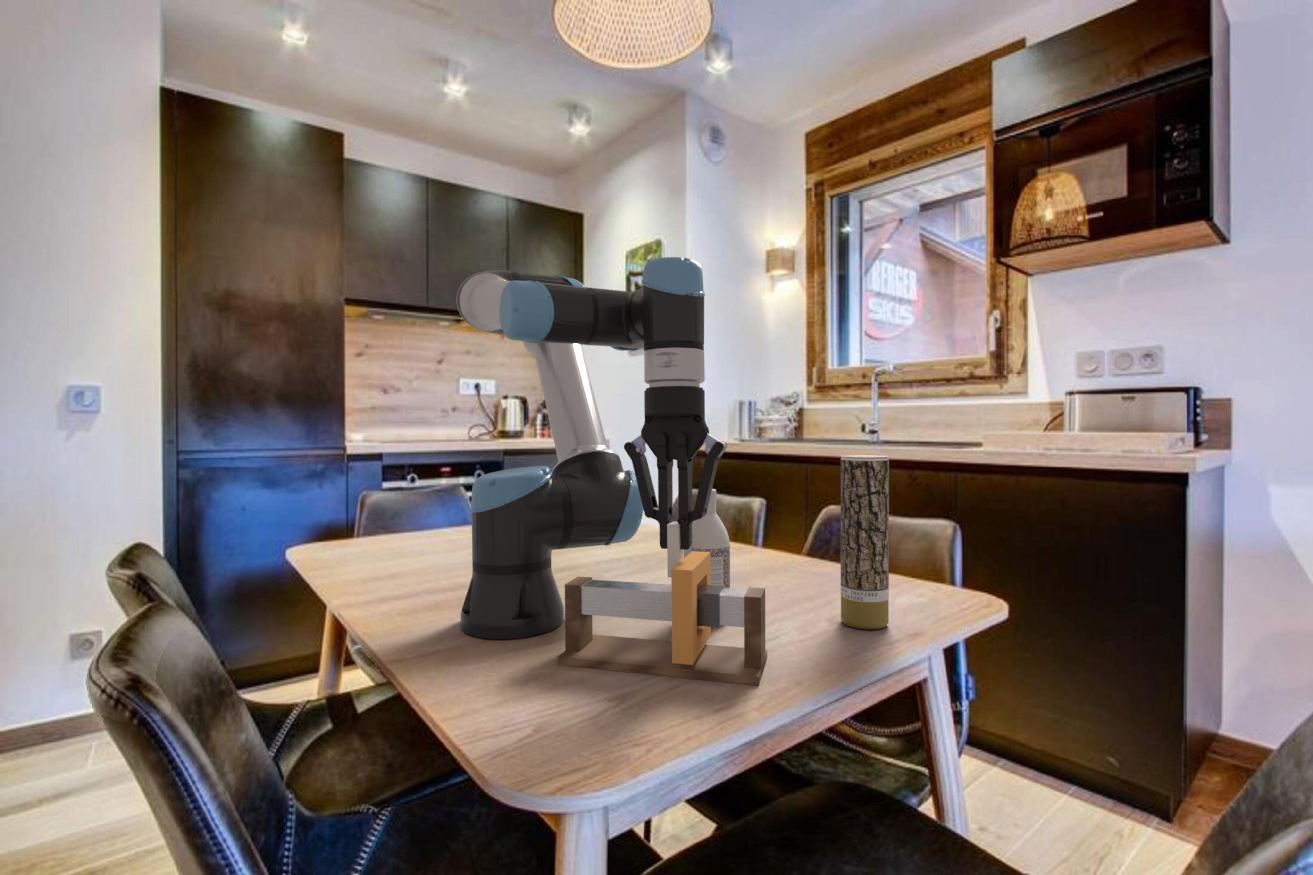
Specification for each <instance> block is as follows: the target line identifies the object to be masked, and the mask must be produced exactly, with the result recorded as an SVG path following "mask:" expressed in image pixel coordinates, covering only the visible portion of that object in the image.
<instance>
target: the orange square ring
mask: <svg viewBox="0 0 1313 875" xmlns="http://www.w3.org/2000/svg"><path fill="white" fill-rule="evenodd" d="M670 578H671V581H670V582H671V585H672V621H671V641H672V663H678V664H688V665H693V664H694V662H695V661H696V659H697V657H698V656H699V654H700V652H701V651H702V649H703V647H704V645H705V644H707V643H708V641H709V639H710V637H711V635H712V627H708V626H697V586H699V587H700V586H701V585H711V556H710V552H698V551H692V552H691V553H689V554H688V555H687V556H686V557H685V558H684V559H683V560H682V561H680V562H679V563H678V564H677V565H676V566H675V567H674V568H672V569H671V577H670Z"/></svg>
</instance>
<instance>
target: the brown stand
mask: <svg viewBox="0 0 1313 875" xmlns="http://www.w3.org/2000/svg"><path fill="white" fill-rule="evenodd" d="M589 580H593V577H591V576H576V577H574V578H573V579H571V580H570V581H567V583H565V584H564V635H565V637H564V639H565V642H564V646H565V647H564V648H565V650H564V651H563V652H561V653H560V654H559V655H558V656H557V665H560V666H569V667H578V668H587V669H596V670H597V669H598V670H606V671H607V670H609V671H615V672H616V671H617V672H626V673H635V674H636V673H637V674H644V675H645V674H646V675H654V676H664V677H675V678H685V679H693V680H694V679H695V680H705V681H713V682H714V681H715V682H723V683H733V684H744V685H752V686H760V685H761V684H760V683H761V680H762V678H763V674H764V670H765V667H766V664H767V661H768V660H767V659H768V649H766V588H764V587H751V586H749V587H748V589H746V590H747V592H746V594H745V596H744V627H743V628H744V630H743V632H744V634H743V636H744V637H743V638H744V641H743V643H744V646H743V647H741V646H740V647H739V646H737V647H736V646H727V645H716V644H707V643H706V644H705V645H704V647H703V649H702V651H701V652H700V654H699V656H698V657H697V659H696V661H695V662H694V664H693V665H688V664H678V663H672V640H659V639H647V638H637V637H628V636H625V637H624V636H614V635H606V634H605V635H602V634H593V615H585V614H581V590H580V586H582V585H583V584H585V583H586V582H588V581H589Z"/></svg>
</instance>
